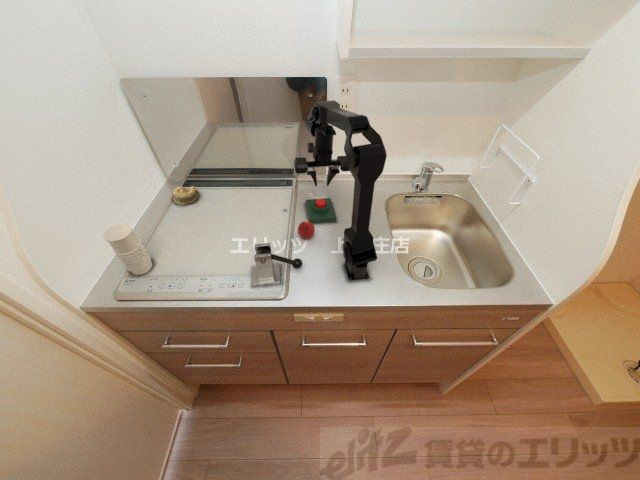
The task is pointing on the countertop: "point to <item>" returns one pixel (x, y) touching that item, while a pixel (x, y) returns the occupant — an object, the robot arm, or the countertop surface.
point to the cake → (185, 195)
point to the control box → (320, 211)
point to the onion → (306, 229)
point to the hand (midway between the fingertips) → (321, 185)
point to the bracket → (265, 267)
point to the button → (320, 203)
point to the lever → (282, 258)
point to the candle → (128, 248)
